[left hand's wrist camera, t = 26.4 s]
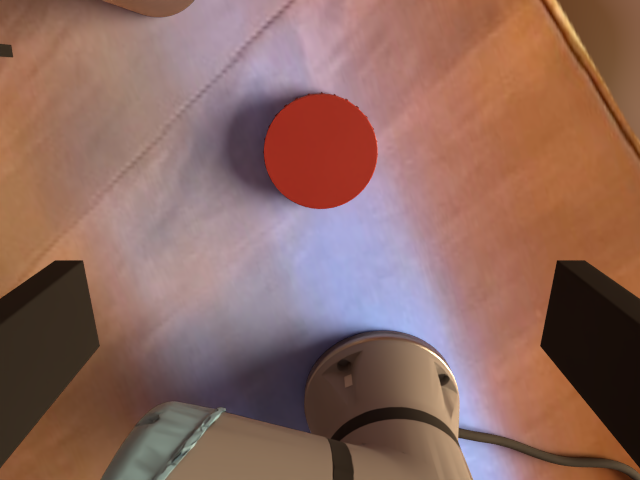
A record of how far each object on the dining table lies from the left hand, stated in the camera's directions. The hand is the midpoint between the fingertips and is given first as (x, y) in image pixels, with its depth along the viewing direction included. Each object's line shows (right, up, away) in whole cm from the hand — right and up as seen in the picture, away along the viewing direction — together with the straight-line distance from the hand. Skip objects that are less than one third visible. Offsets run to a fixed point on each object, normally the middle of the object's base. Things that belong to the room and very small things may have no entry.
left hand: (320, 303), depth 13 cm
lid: (0, +9, +23) cm, 25 cm away
